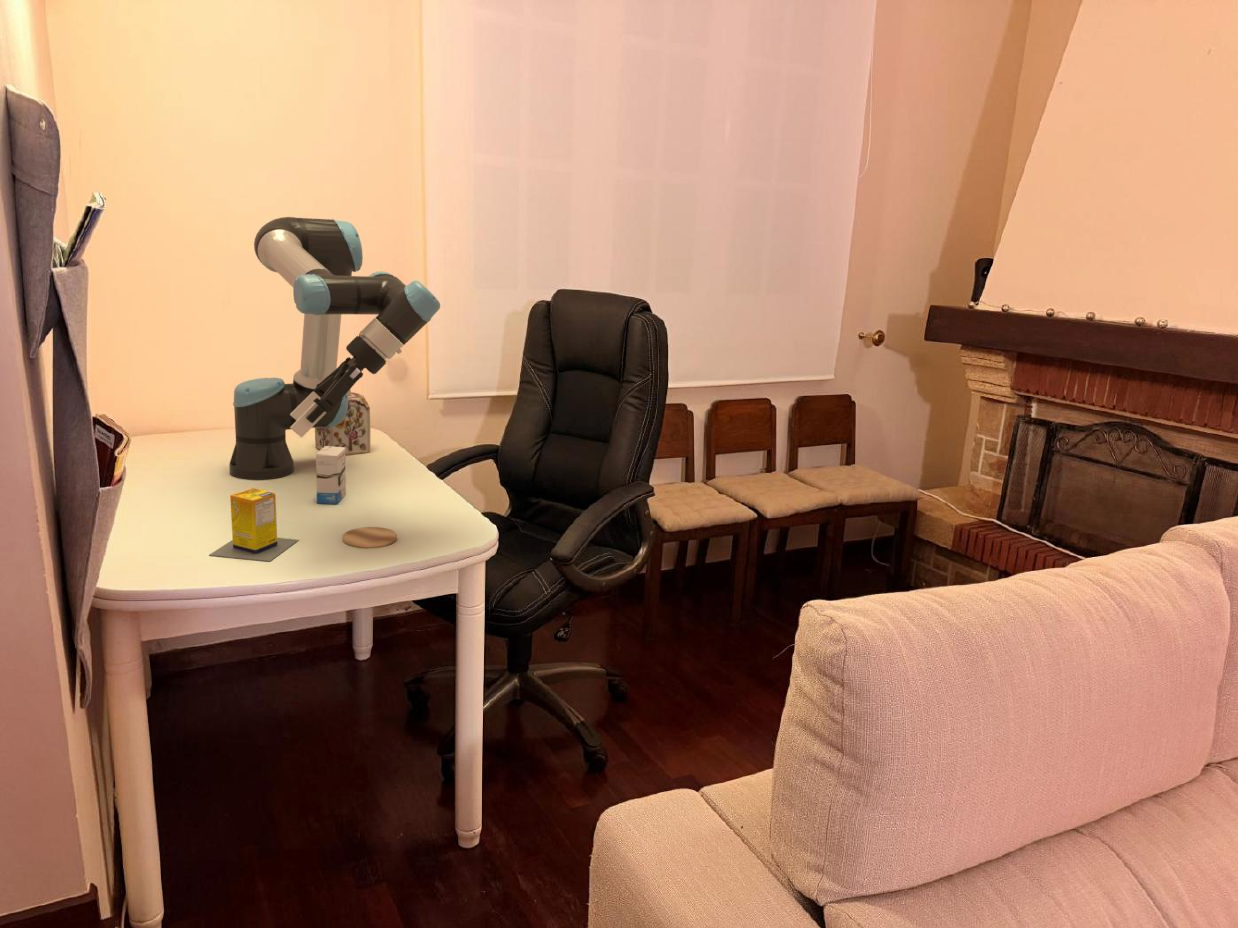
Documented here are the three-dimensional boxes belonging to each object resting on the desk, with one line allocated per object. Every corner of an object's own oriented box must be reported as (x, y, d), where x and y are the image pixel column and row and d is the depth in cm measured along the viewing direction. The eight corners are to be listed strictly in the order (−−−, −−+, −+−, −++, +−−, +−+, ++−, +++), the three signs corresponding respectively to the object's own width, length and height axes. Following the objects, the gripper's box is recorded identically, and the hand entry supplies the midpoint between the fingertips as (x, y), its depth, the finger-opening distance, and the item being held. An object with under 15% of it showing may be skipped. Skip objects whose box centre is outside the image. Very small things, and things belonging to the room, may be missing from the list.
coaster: (354, 527, 184) (354, 524, 184) (404, 532, 184) (404, 529, 183) (333, 545, 174) (333, 542, 174) (386, 550, 173) (386, 547, 173)
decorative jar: (314, 448, 245) (313, 385, 241) (353, 443, 253) (352, 383, 248) (331, 457, 237) (330, 393, 232) (371, 453, 244) (371, 390, 240)
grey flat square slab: (241, 535, 176) (241, 533, 176) (298, 540, 175) (298, 539, 175) (209, 555, 164) (209, 554, 164) (270, 561, 163) (270, 560, 163)
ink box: (338, 505, 198) (337, 455, 195) (315, 504, 198) (314, 454, 195) (346, 494, 206) (346, 446, 203) (325, 493, 206) (324, 445, 203)
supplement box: (255, 539, 173) (252, 487, 170) (278, 545, 171) (276, 492, 168) (231, 548, 168) (229, 494, 165) (255, 554, 166) (253, 499, 163)
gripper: (395, 369, 159) (312, 452, 157) (381, 353, 181) (309, 426, 180) (364, 340, 156) (279, 424, 154) (354, 328, 178) (280, 401, 177)
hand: (295, 425), depth 167 cm, fingers open, 13 cm apart
